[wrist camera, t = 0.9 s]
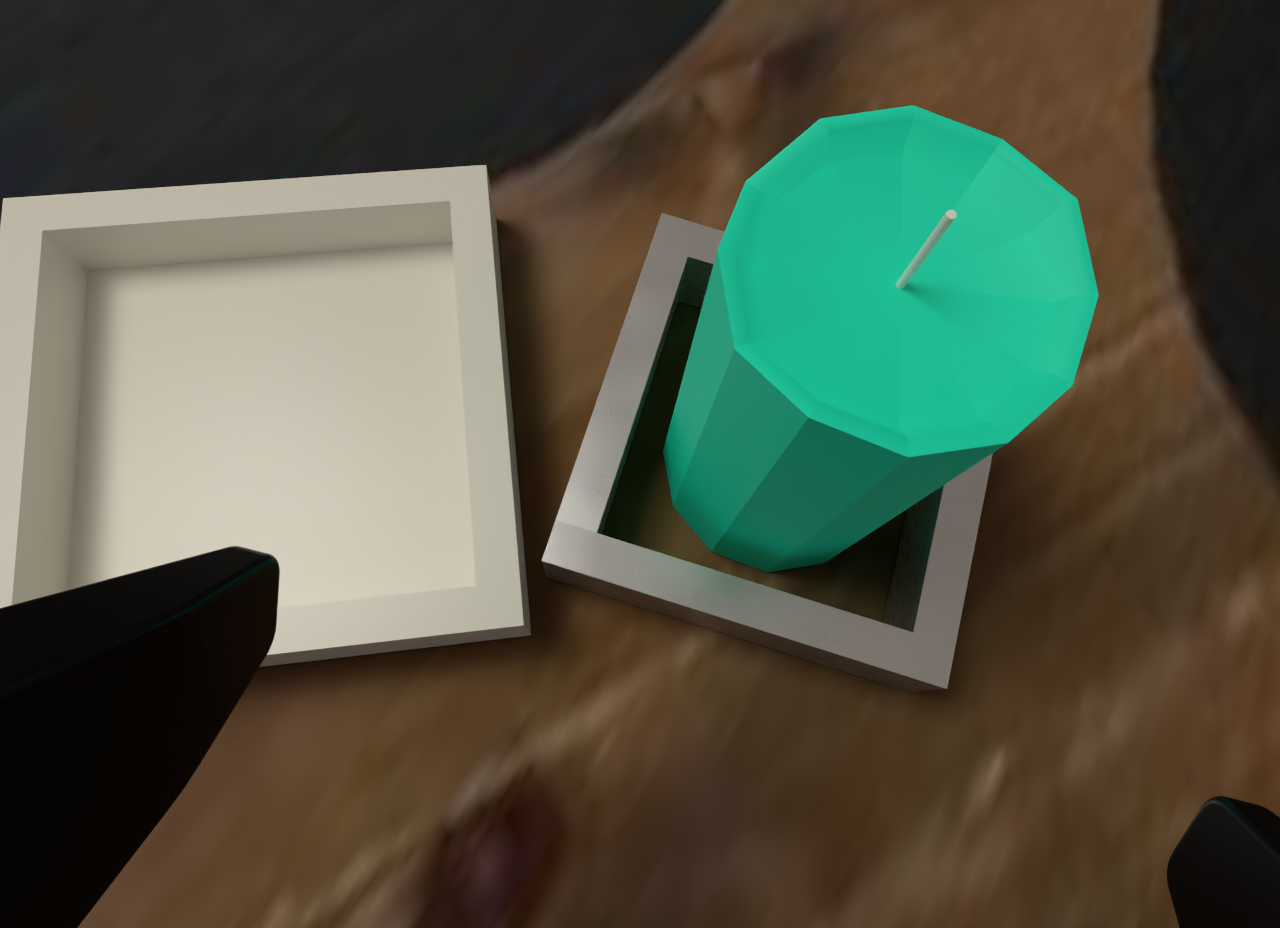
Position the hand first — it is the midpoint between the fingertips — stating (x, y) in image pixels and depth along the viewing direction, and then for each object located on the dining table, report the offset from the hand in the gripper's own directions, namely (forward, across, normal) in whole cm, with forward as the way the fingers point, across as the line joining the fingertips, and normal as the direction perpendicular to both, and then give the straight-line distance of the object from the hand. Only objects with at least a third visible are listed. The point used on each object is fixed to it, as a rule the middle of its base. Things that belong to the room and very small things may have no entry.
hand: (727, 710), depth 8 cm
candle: (+15, -2, +3) cm, 16 cm away
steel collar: (+15, -2, +3) cm, 16 cm away
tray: (+14, +11, +5) cm, 18 cm away
